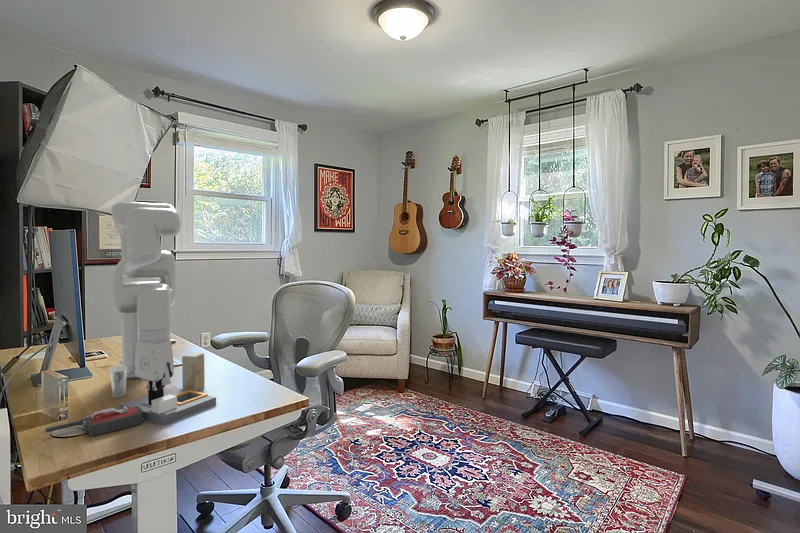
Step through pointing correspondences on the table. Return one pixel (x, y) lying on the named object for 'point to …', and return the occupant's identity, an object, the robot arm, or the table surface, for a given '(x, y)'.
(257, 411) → the table surface
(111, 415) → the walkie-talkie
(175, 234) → the robot arm
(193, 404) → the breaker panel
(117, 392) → the milkshake
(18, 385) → the table surface
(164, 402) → the block
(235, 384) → the table surface
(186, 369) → the box
